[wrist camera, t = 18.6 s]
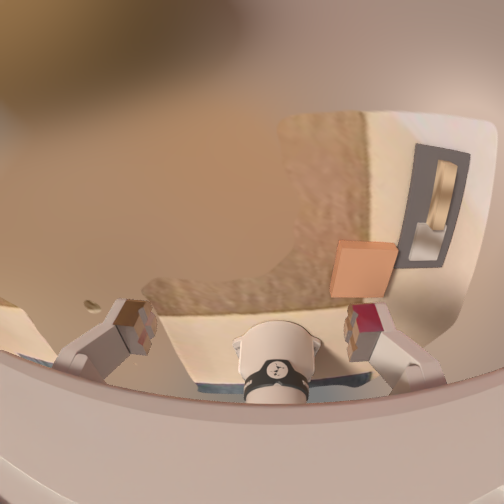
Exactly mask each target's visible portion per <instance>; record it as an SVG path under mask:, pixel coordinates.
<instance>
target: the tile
mask: <svg viewBox="0 0 504 504" xmlns="http://www.w3.org/2000/svg"><path fill="white" fill-rule="evenodd" d="M398 251H399V250H398V249H397V247H396V246H395V244H394V243H384V242H365V241H345V240H339V243H338V248H337V254H336V259H335V264H334V269H333V274H332V278H331V283H330V288H329V289H330V293H331V297H383V296H384V293H385V291H386V288H387V285H388V282H389V279H390V276H391V273H392V270H393V267H394V264H395V261H396V258H397V254H398Z"/></svg>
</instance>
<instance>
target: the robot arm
mask: <svg viewBox="0 0 504 504" xmlns="http://www.w3.org/2000/svg"><path fill="white" fill-rule="evenodd" d="M152 308H153V307H152V305H151V302H149V301H144V300H134V299H122V298H118V299H117V300H116V301H115V303H114V304H113V306H112V308H111V309H110V311H109V313H108V315H107V316H106V318H105V320H104V322H103V324H102V323H100V324H98V325H97V326H95V327H93V328H92V329H90V330H89V331H88V332H86V333H84V334H83V335H82V336H80V337H78V338H77V339H75V340H74V341H72V342H71V343H69V344H68V345H66V346H65V347H64V348H62V350H61V352H60V353H59V355H58V357H57V358H56V360H55V362H54V364H53V366H52V368H49V367H46V366H43V365H40V364H38V363H35V362H32V361H29V360H27V359H24V358H22V357H19V356H17V355H14V354H12V353H9V352H7V351H4V350H0V504H504V367H503V368H500V369H497V370H495V371H492V372H488V373H485V374H482V375H479V376H476V377H472V378H469V379H465V380H462V381H458V382H454V383H450V384H447V382H446V379H445V377H444V374H443V371H442V369H441V366H440V363H439V361H438V360H437V359H436V358H434V357H433V356H432V355H431V354H429V353H428V352H427V351H426V350H424V349H423V348H422V347H421V346H419V345H418V344H417V343H415V342H414V341H413V340H412V339H410V338H409V337H408V336H407V335H405V334H404V333H403V332H402V331H400V330H396V327H395V325H394V322H393V319H392V317H391V314H390V312H389V309H388V307H387V305H386V303H385V302H374V303H356V304H350V305H349V306H348V310H347V312H348V317H347V318H346V319H345V323H344V338H345V341H346V342H347V343H348V347H347V353H348V358H349V362H361V361H369V363H370V364H371V365H372V366H373V367H374V368H375V370H376V371H377V372H378V373H379V374H380V375H381V376H382V377H383V379H385V381H386V382H387V383H388V384H389V385H390V387H391V388H392V389H393V390H392V391H391V393H390V394H389V396H384V397H377V398H369V399H360V400H350V401H339V402H324V403H307V400H308V393H309V387H308V382H310V381H311V376H313V374H314V372H315V366H314V357H315V356H316V354H317V352H318V350H319V348H320V346H321V341H320V340H319V339H317V338H315V337H313V336H311V335H310V334H309V333H308V332H307V331H306V330H305V329H304V328H302V327H301V326H299V325H297V324H294V323H291V322H286V321H269V322H264V323H261V324H258V325H256V326H254V327H252V328H251V329H249V330H248V331H247V332H246V333H245V334H244V335H243V336H241V337H238V338H236V339H234V340H233V347H234V350H235V352H236V354H237V356H238V358H239V373H240V374H241V376H242V378H243V379H244V380H245V386H244V400H245V401H246V403H234V402H219V401H208V400H198V399H189V398H181V397H174V396H167V395H160V394H154V393H148V392H143V391H137V390H132V389H127V388H122V387H118V386H113V385H109V384H107V383H106V382H105V381H104V379H105V378H106V377H107V376H108V375H109V374H110V373H111V372H112V371H113V370H115V369H116V368H117V367H118V366H119V365H120V364H121V363H122V362H123V361H124V360H125V359H126V358H127V357H129V356H130V354H136V355H145V356H147V355H148V353H149V350H150V348H151V345H152V343H151V341H150V339H152V338H153V337H154V336H155V334H156V332H157V319H156V316H155V315H154V314H153V313H152V312H151V310H152Z"/></svg>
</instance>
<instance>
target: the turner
mask: <svg viewBox="0 0 504 504" xmlns="http://www.w3.org/2000/svg"><path fill="white" fill-rule="evenodd" d="M457 167H458V166H457V165H455V164H453V163H452V162H450V161H444V160H438V164H437V171H436V177H435V183H434V188H433V194H432V199H431V203H430V208H429V213H428V217H427V221H426V223H417V227H416V231H415V235H414V239H413V243H412V247H411V250H410V254H409V260H410V261H426V260H437V258H438V255H439V252H440V249H441V246H442V242H443V239H444V235H445V232H446V228H447V225H446V224H445V223H446V219H447V215H448V211H449V207H450V202H451V198H452V193H453V188H454V183H455V178H456V173H457Z"/></svg>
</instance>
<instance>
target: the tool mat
mask: <svg viewBox="0 0 504 504" xmlns="http://www.w3.org/2000/svg"><path fill="white" fill-rule="evenodd" d="M470 155H471V154H469V153H464V152H460V151H455V150H450V149H445V148H440V147H434V146H428V145H422V144H416V146H415V155H414V163H413V170H412V177H411V183H410V189H409V195H408V200H407V206H406V211H405V216H404V221H403V225H402V230H401V234H400V239H399V243H398V247H397V249H398V250H399V251H398V254H397V258H396V261H395V264H394V267H393V268H433V267H442V265H443V262H444V259H445V257H446V254H447V251H448V247H449V244H450V241H451V238H452V235H453V231H454V228H455V224H456V220H457V217H458V213H459V209H460V205H461V201H462V196H463V192H464V187H465V183H466V178H467V172H468V167H469V161H470ZM438 160H444V161H450V162H452V163H453V164H455V165H457V166H458V167H457V173H456V178H455V183H454V188H453V193H452V198H451V202H450V207H449V211H448V215H447V219H446V223H445V224H446V225H447V228H446V232H445V235H444V239H443V242H442V246H441V249H440V252H439V255H438V258H437V260H426V261H410V260H409V254H410V250H411V247H412V243H413V239H414V235H415V231H416V227H417V223H426V221H427V217H428V213H429V208H430V203H431V199H432V194H433V188H434V183H435V177H436V171H437V164H438Z"/></svg>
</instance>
